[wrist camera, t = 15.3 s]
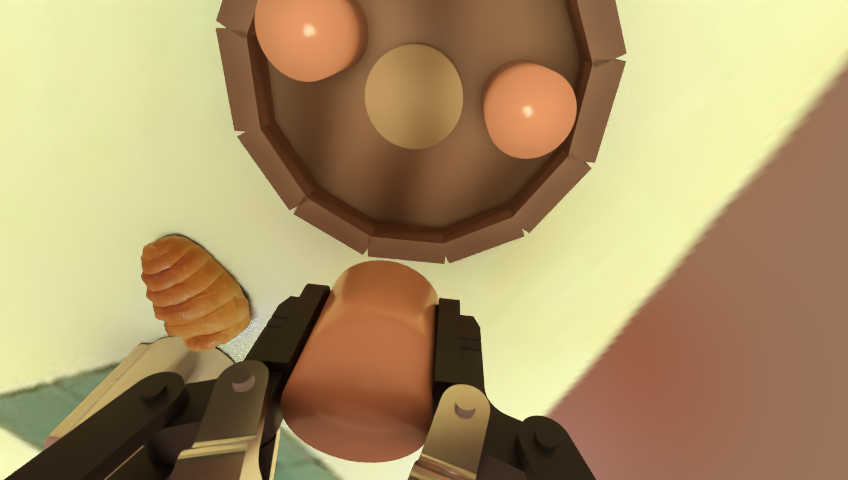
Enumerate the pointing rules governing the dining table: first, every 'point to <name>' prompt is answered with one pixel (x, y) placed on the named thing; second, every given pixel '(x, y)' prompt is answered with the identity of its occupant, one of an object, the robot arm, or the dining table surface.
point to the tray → (447, 171)
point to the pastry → (193, 293)
